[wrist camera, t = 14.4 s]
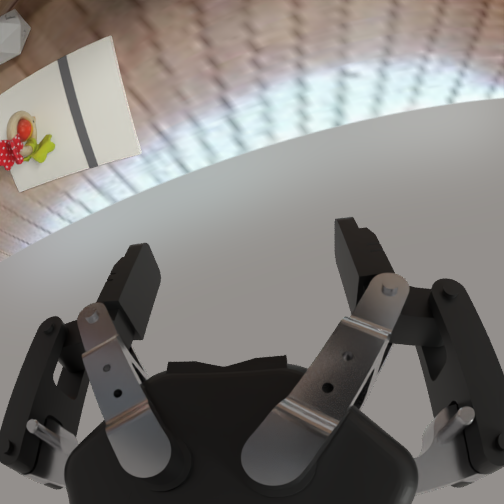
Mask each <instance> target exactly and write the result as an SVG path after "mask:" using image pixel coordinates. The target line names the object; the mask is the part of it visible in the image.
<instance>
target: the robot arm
mask: <svg viewBox="0 0 504 504" xmlns="http://www.w3.org/2000/svg"><path fill="white" fill-rule="evenodd" d="M335 258H336V264H337V267H338V270H339V273H340V277H341V280H342V283H343V287H344V290H345V293H346V297H347V300H348V304H349V307H350V311H351V316H350V317H349V318H348V317H344V318H343V319H342V320H341V322H340V323H339V324H338V326H337V328H336V329H335V331H334V332H333V334H332V335H331V337H330V338H329V340H328V341H327V343H326V344H325V346H324V347H323V348H322V350H321V351H320V353H319V354H318V356H317V357H316V359H315V360H314V362H313V363H312V364H311V366H310V367H309V368H308V369H307V368H304V367H301V366H297V365H292V364H287V358H286V355H284V356H274V357H263V358H254V359H251V360H248V361H244V362H241V363H237V364H234V365H230V366H226V367H221V366H216V365H211V364H205V363H201V362H196V361H192V362H168V366H167V371H164V372H161V373H158V374H156V375H154V376H152V377H151V378H149V376H148V374H147V373H146V371H145V369H144V367H143V365H142V363H141V362H140V360H139V358H138V356H137V354H136V352H135V350H134V348H133V347H132V346H131V344H132V341H133V340H143V338H144V334H145V331H146V327H147V324H148V321H149V317H150V314H151V311H152V307H153V304H154V301H155V298H156V295H157V291H158V289H159V286H160V281H161V275H160V270H159V268H158V265H157V263H156V261H155V258H154V256H153V254H152V251H151V249H150V246H149V245H148V244H147V243H141V244H135V245H130V247H129V248H128V250H127V252H126V254H125V256H124V257H122V258H121V259H120V260H119V261H118V262H117V263H116V264H115V265H114V267H113V269H112V271H111V273H110V274H111V275H109V277H108V279H107V282H106V283H105V285H104V287H103V289H102V291H101V293H100V296H99V298H98V300H97V302H96V303H92V304H90V305H88V306H86V307H85V308H84V309H83V310H82V311H81V312H80V313H79V315H78V318H77V320H75V321H72V322H69V323H66V324H64V323H63V322H62V320H61V319H60V318H59V317H57V316H54V317H50V318H48V319H46V320H45V321H44V322H43V323H42V324H41V325H40V327H39V328H38V330H37V333H36V335H35V337H34V339H33V342H32V344H31V346H30V348H29V351H28V353H27V356H26V358H25V361H24V363H23V366H22V368H21V371H20V373H19V376H18V378H17V381H16V384H15V386H14V389H13V392H12V395H11V398H10V401H9V404H8V407H7V410H6V413H5V417H4V420H3V423H2V427H1V430H0V462H1V463H3V464H4V465H6V466H8V467H10V468H12V469H13V470H15V471H17V472H18V473H19V474H21V475H23V476H25V477H27V478H29V479H31V480H33V481H35V482H37V483H40V484H44V485H46V486H48V487H51V488H53V489H61V488H63V487H64V488H66V489H67V492H68V497H69V503H70V504H411V503H412V501H413V499H414V496H416V495H419V494H423V493H427V492H430V491H434V490H437V489H440V488H444V487H447V486H450V485H451V486H453V487H464V486H466V485H468V484H471V483H473V482H475V481H477V480H479V479H481V478H483V477H485V476H487V475H489V474H491V473H493V472H495V471H497V470H499V469H501V468H502V467H504V374H503V371H502V369H501V366H500V364H499V361H498V359H497V356H496V354H495V351H494V349H493V346H492V344H491V342H490V339H489V337H488V335H487V333H486V330H485V328H484V326H483V324H482V322H481V320H480V318H479V315H478V313H477V312H476V309H475V307H474V306H473V303H472V301H471V299H470V297H469V295H468V293H467V292H466V290H465V288H464V287H463V286H462V285H461V284H460V283H458V282H457V281H455V280H452V279H440V280H437V281H436V282H435V283H434V284H433V286H432V289H424V288H415V287H411V286H409V284H408V282H407V281H406V280H405V279H404V278H403V277H401V276H399V275H397V274H395V272H394V270H393V268H392V266H391V264H390V262H389V260H388V258H387V256H386V254H385V252H384V251H383V248H382V246H381V245H380V244H379V241H378V239H377V237H376V235H375V234H374V233H373V232H371V231H370V230H369V229H368V228H358V226H357V224H356V222H355V220H354V218H353V217H348V218H339V219H335ZM394 343H395V344H404V345H415V346H416V349H417V352H418V356H419V359H420V363H421V367H422V370H423V374H424V377H425V382H426V386H427V389H428V394H429V398H430V402H431V407H432V411H433V416H434V420H433V421H432V422H431V423H430V424H429V425H428V426H427V428H426V429H425V431H424V433H423V438H422V450H421V453H420V455H419V457H417V458H413V457H412V455H411V454H410V452H409V451H408V450H407V449H406V448H405V447H404V446H402V445H401V444H400V443H399V442H397V441H396V440H395V439H394V438H392V437H391V436H390V435H389V434H388V433H386V432H385V431H384V430H383V429H382V428H380V427H379V426H378V425H377V424H376V423H374V422H373V421H372V420H371V419H369V418H368V417H367V416H366V415H365V414H363V413H362V412H361V411H360V410H361V409H362V407H363V405H364V403H365V401H366V400H367V398H368V396H369V394H370V392H371V390H372V387H373V385H374V383H375V381H376V379H377V377H378V375H379V373H380V371H381V369H382V367H383V365H384V363H385V361H386V359H387V357H388V355H389V353H390V351H391V348H392V346H393V344H394ZM58 361H59V362H60V364H62V366H63V368H62V372H61V374H60V378H59V381H58V384H57V386H56V385H55V383H54V380H53V373H54V370H55V367H56V364H57V362H58ZM89 381H90V383H91V386H92V389H93V392H94V394H95V397H96V400H97V402H98V405H99V408H100V410H101V413H102V415H103V417H104V421H103V422H102V423H101V424H100V425H99V426H98V427H96V428H95V429H94V430H93V431H92V432H91V433H90V434H89V435H88V436H87V437H86V438H85V439H84V440H83V441H82V442H81V443H80V444H79V445H78V442H77V439H76V435H77V430H78V426H79V421H80V417H81V413H82V408H83V404H84V400H85V396H86V392H87V388H88V385H89Z"/></svg>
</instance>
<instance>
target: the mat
mask: <svg viewBox="0 0 504 504" xmlns="http://www.w3.org/2000/svg"><path fill="white" fill-rule="evenodd" d="M18 111H25V112H27V113H29V114H30V115H31V116H33V117H35V119H36V121H35V124H36V129H37V144H39V143H40V142H41V141H42V139H43V138H44V137H45V136H46V135H48V134H51V135H52V137H51V142H53V143H54V144H55V149H54V150H53V151H51V152H49V153H47V157H46V160H45V161H44V162H42V163H39V162H37V161H36V160H34V159H33V158H31V159H30V160H29V162H27V161H23V162H22V164H19V165H17V164H16V163H15V162H14V165H13V167H12V168H11V169H10V171H11V174H12V176H13V179H14V181H15V184H16V186H17V188H18V191H19V193H20V192H22V191H25V190H27V189H30V188H33V187H35V186H38V185H41V184H44V183H46V182H49V181H52V180H55V179H58V178H61V177H64V176H67V175H70V174H73V173H76V172H79V171H82V170H85V169H89V168H93V167H96V166H99V165H102V164H105V163H109V162H113V161H116V160H120V159H124V158H127V157H131V156H135V155H139V154H141V153H142V151H141V148H140V144H139V141H138V138H137V134H136V131H135V127H134V124H133V120H132V116H131V113H130V109H129V105H128V102H127V98H126V94H125V90H124V86H123V82H122V78H121V74H120V70H119V66H118V62H117V57H116V53H115V49H114V44H113V39H112V36H108V37H105V38H103V39H101V40H98V41H96V42H94V43H91V44H89V45H87V46H85V47H83V48H80V49H78V50H76V51H74V52H72V53H70V54H68V55H66V56H64V57H62V58H60V59H58V60H56V61H55V62H53V63H51V64H49V65H47V66H45V67H44V68H42V69H40V70H38V71H37V72H35V73H33V74H32V75H30V76H28V77H27V78H25V79H23V80H22V81H20V82H19V83H17V84H16V85H14V86H13V87H11V88H10V89H8V90H7V91H5V92H4V93H2V94H1V95H0V140H7V133H6V131H7V124H8V121H9V119H10V117H11V116H12V115H13V114H14V113H16V112H18ZM26 142H27V141H25V142H23V145H25V144H26ZM25 157H26V156H25ZM23 158H24V157H23Z"/></svg>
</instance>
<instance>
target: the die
mask: <svg viewBox="0 0 504 504" xmlns="http://www.w3.org/2000/svg"><path fill="white" fill-rule="evenodd" d="M30 30H31V27H30V26H29V25H28V24H27V22H25V20H24V19H23V18H22V17H21V15H20V14H19V13H18V12H17V11H16V9H13V10H12V11H10V12H8V13H6V14H4V15H2V16H0V65H1V64H2V63H4V62H6V61H8V60H10V59H12V58H14V57H16V56H17V55H19V54H21V51H22V49H23V46H24V44H25V41H26V39H27V37H28V34H29V32H30Z"/></svg>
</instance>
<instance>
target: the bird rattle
mask: <svg viewBox="0 0 504 504" xmlns="http://www.w3.org/2000/svg"><path fill="white" fill-rule="evenodd" d="M35 121H36V119H35V117H33V116H31V115H30V114H29V113H27V112H25V111H18V112H16V113H14V114H13V115H12V116H11V117H10V119H9V121H8V124H7V131H6V133H7V140H0V166H4V167H5V169H6V170H7V171H8V170H10V169H11V168H12V167H13V165H14V162H15V163H16V164H17V165H19V164H22V162H23V161H27V162H29V160H30V159H31V158H33V159H34V160H36V161H37V162H39V163H42V162H44V161H45V160H46V157H47V153H49V152H51V151H53V150H54V149H55V144H54V143H53V142H51V137H52V135H51V134H48V135H46V136H45V137H44V138H43V139H42V141H41V142H40V143H39V144H37V129H36V124H35ZM25 141H27V142H26V144H25V145H23V142H25ZM25 156H26V157H25ZM23 157H24V158H23Z"/></svg>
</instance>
